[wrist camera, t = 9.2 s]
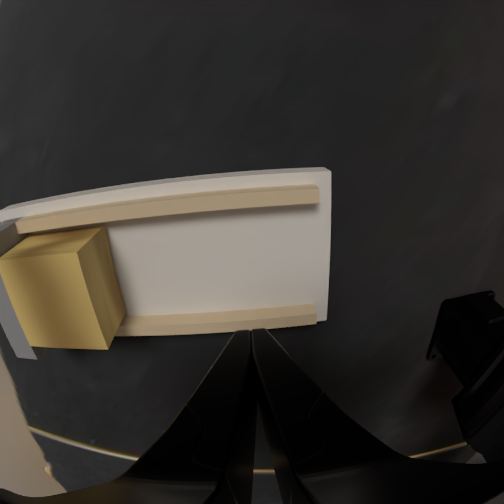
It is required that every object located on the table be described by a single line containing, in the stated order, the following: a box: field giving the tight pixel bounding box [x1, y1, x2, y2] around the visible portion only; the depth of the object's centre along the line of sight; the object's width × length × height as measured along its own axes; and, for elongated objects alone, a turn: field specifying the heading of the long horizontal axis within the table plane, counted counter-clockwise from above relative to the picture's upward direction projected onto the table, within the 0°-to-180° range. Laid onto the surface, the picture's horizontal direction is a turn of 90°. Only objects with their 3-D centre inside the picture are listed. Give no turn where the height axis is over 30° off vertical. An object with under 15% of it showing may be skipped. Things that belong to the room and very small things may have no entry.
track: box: [0, 167, 331, 359], centre depth 18 cm, size 22×10×6 cm, turn 94°
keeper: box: [0, 226, 126, 349], centre depth 17 cm, size 6×6×4 cm
